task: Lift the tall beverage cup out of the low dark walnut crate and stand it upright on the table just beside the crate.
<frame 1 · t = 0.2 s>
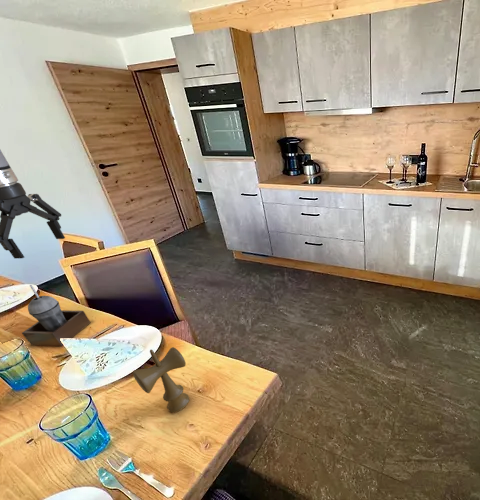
hand: (41, 247, 96), 29 cm above the table, tool pointing down, fingers open, 13 cm apart
beverage cup: (62, 333, 101), resting in crate
crate: (62, 333, 101), on the table
kendama: (179, 404, 75), on the table
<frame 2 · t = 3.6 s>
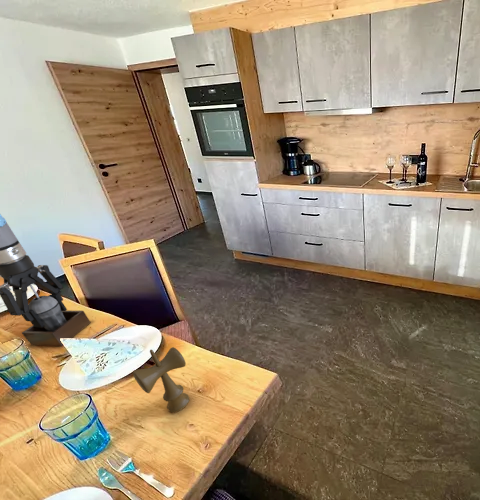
hand: (51, 317, 97), 7 cm above the table, tool pointing down, fingers closed on beverage cup, 7 cm apart
beverage cup: (62, 333, 101), resting in crate, touching gripper
everything else where it was.
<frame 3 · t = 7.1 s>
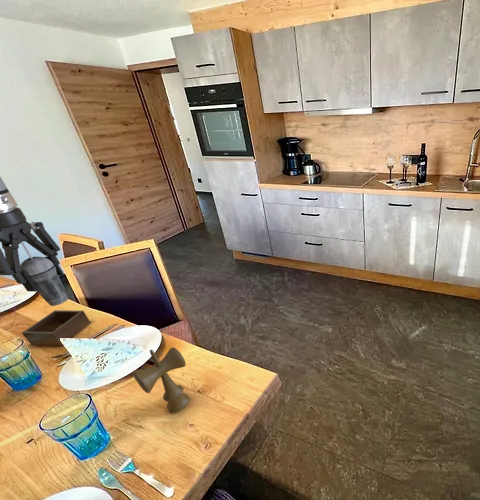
hand: (46, 282, 87), 23 cm above the table, tool pointing down, fingers closed on beverage cup, 7 cm apart
beverage cup: (59, 301, 90), point 16 cm above the table, touching gripper
everything else where it was.
when the fingers open (7 cm above the table, at t = 10.9 s): beverage cup stays where it is, on the table.
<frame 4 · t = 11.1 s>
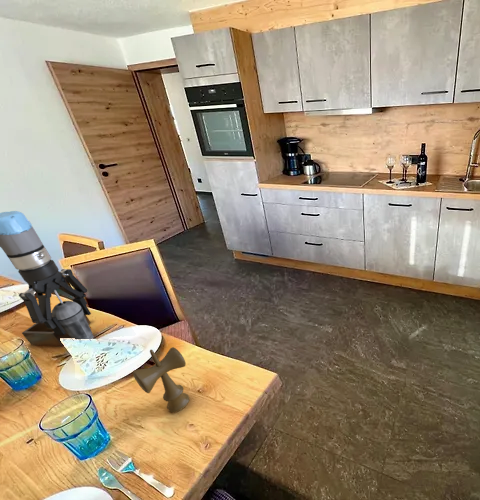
hand: (74, 323, 94), 7 cm above the table, tool pointing down, fingers open, 8 cm apart
beverage cup: (85, 340, 98), on the table
everything else where it was.
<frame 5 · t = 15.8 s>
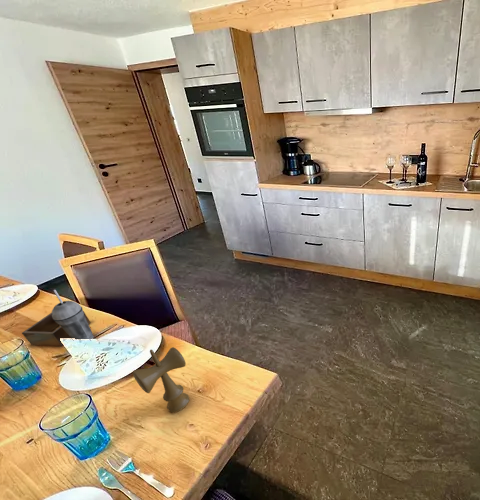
nothing on the table moved.
at the end: beverage cup 0.1 cm from the target spot, on the table; beverage cup tilted 0°; beverage cup touching table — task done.
